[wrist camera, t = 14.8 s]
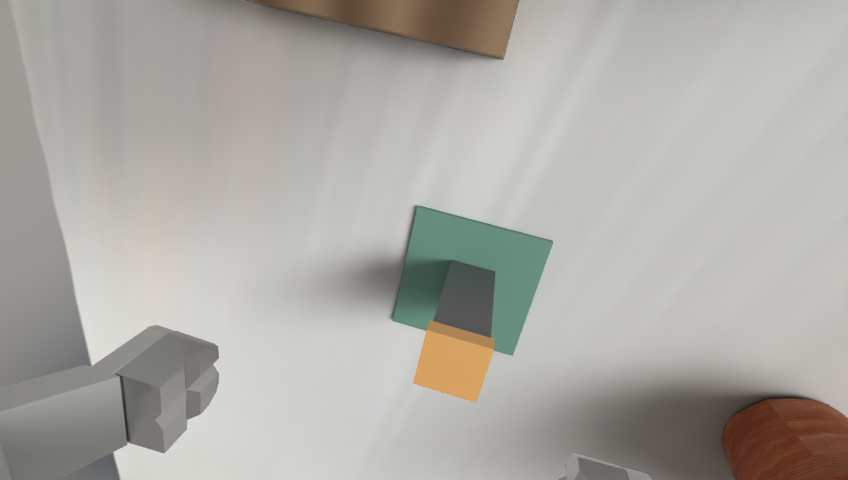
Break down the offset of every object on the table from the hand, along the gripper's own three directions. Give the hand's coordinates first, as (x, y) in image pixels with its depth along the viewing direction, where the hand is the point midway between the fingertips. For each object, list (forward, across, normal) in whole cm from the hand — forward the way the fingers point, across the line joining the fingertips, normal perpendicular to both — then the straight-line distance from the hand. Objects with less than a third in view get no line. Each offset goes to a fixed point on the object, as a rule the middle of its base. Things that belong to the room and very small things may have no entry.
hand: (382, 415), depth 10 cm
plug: (+28, -2, +11) cm, 30 cm away
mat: (+29, -1, +11) cm, 31 cm away
